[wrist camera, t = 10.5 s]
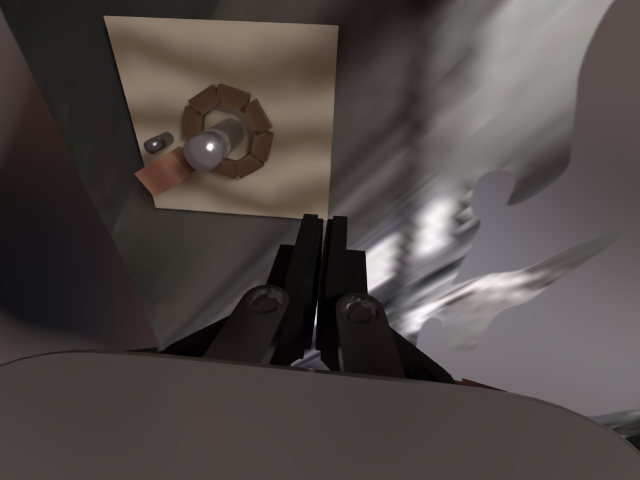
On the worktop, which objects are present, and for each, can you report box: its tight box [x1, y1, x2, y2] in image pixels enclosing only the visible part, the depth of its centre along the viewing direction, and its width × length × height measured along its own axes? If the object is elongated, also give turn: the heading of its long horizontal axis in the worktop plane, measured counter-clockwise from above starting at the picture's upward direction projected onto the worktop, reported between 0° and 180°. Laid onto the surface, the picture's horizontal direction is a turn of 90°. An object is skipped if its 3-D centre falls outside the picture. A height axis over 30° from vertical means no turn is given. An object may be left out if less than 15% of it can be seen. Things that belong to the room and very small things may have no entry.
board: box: [104, 16, 339, 221], centre depth 35 cm, size 20×22×1 cm
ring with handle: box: [135, 83, 274, 197], centre depth 33 cm, size 15×9×4 cm, turn 118°
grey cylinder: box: [144, 118, 245, 171], centre depth 31 cm, size 3×10×8 cm, turn 88°
